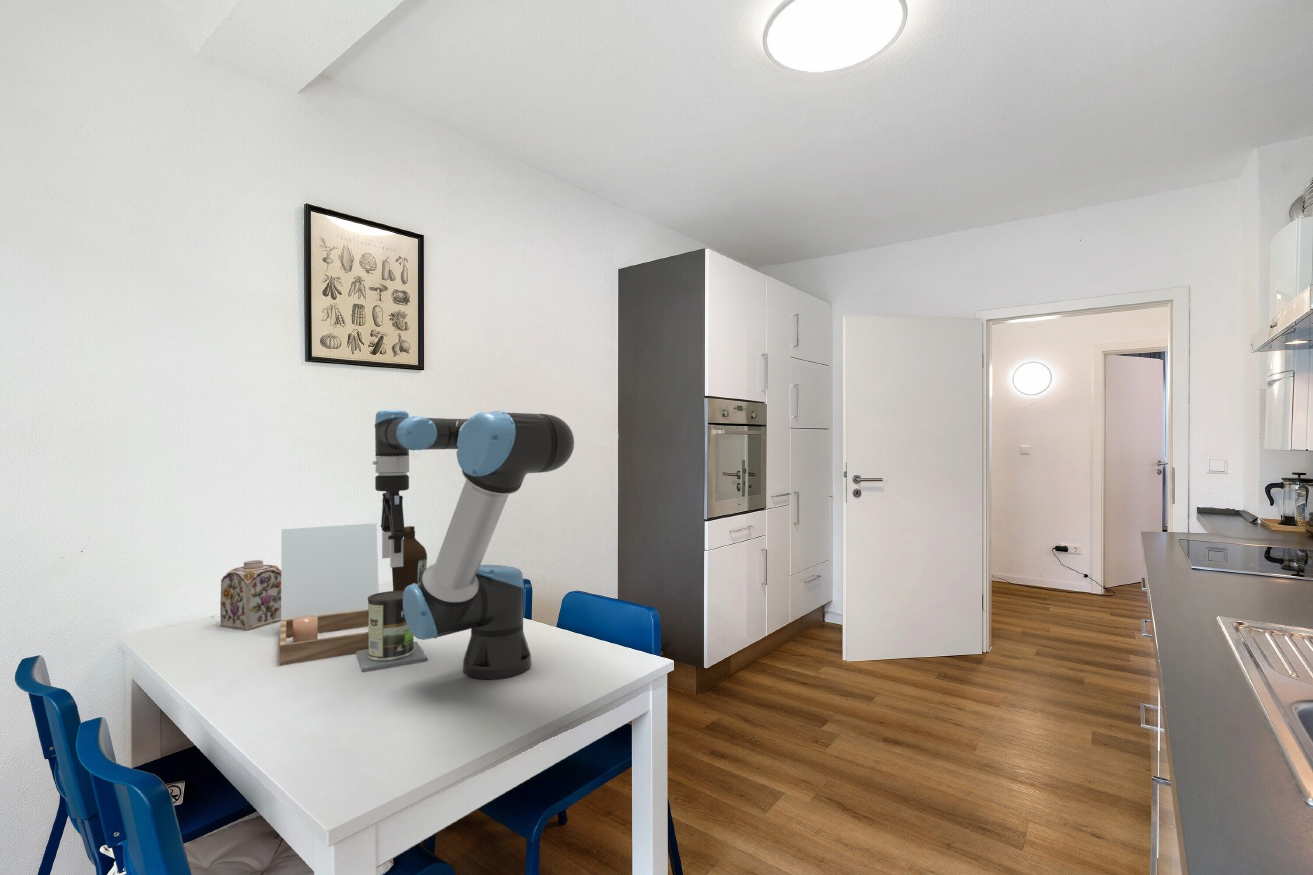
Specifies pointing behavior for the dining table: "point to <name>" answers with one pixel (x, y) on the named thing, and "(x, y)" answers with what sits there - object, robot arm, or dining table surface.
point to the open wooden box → (325, 645)
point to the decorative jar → (251, 596)
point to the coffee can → (388, 627)
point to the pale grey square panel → (328, 569)
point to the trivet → (371, 665)
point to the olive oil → (410, 562)
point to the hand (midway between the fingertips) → (392, 562)
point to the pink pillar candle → (305, 628)
